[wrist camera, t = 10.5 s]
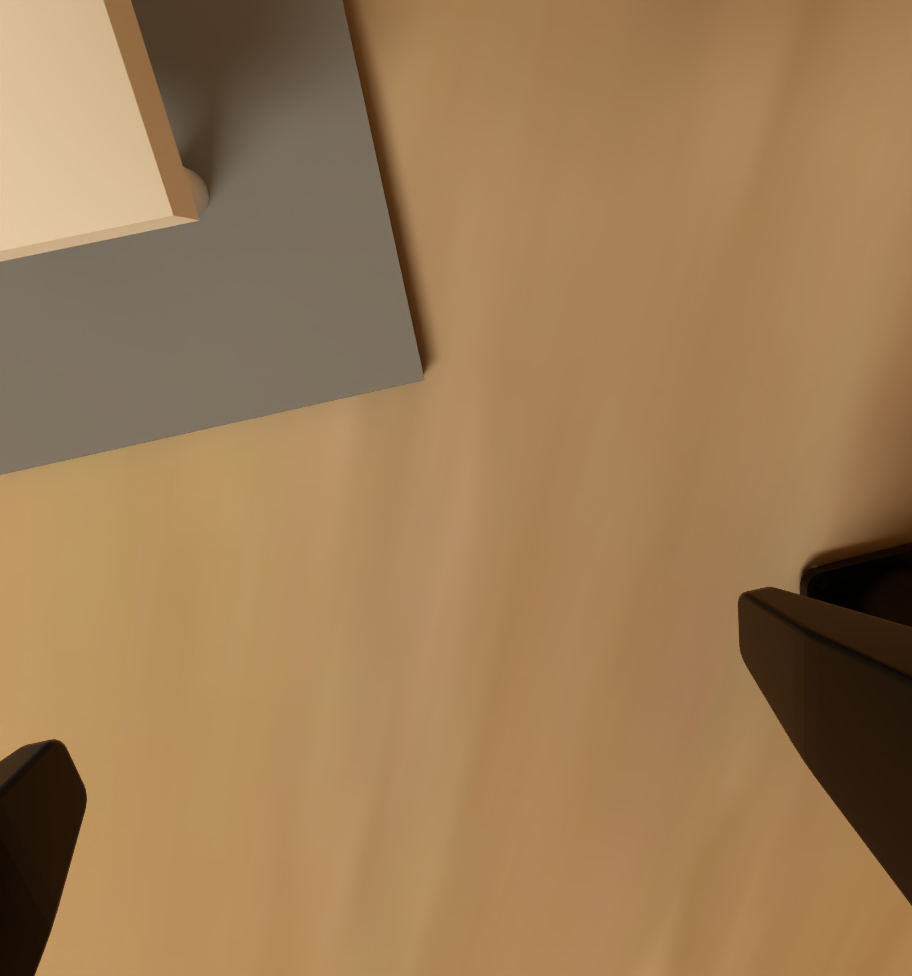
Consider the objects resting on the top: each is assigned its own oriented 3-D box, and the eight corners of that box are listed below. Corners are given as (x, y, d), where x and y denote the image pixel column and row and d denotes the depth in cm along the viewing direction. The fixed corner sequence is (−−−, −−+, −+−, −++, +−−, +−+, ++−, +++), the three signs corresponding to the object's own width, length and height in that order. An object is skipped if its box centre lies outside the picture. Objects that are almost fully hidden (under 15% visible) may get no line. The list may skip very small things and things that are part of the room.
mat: (203, -637, 13) (195, -679, 12) (422, 376, 20) (424, 380, 19) (-567, -534, 12) (-613, -573, 11) (-52, 482, 19) (-64, 489, 18)
